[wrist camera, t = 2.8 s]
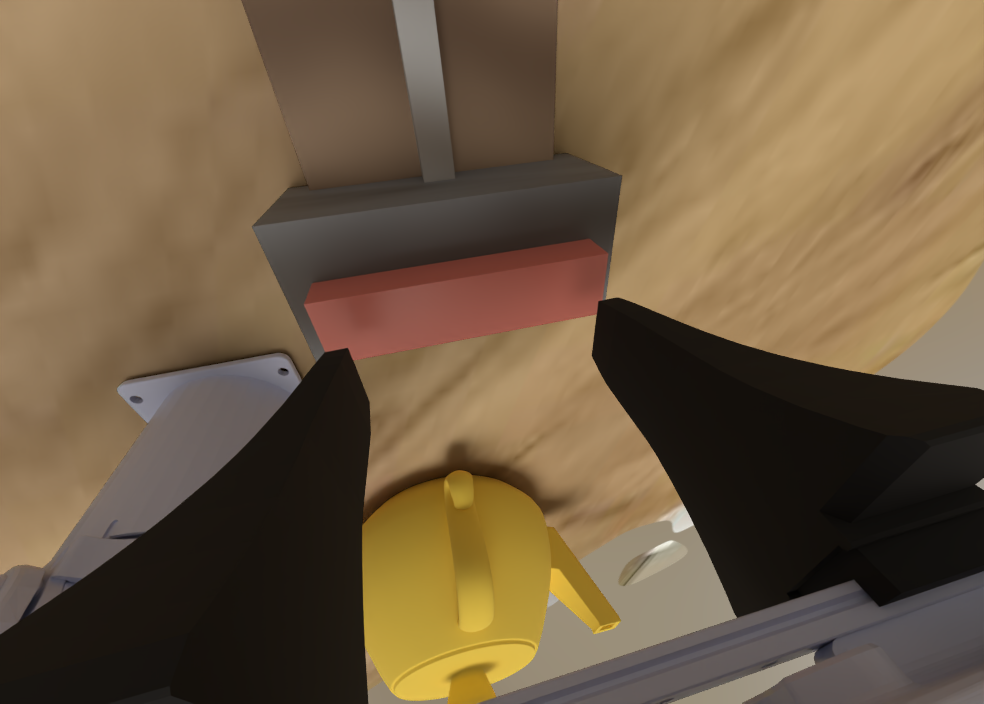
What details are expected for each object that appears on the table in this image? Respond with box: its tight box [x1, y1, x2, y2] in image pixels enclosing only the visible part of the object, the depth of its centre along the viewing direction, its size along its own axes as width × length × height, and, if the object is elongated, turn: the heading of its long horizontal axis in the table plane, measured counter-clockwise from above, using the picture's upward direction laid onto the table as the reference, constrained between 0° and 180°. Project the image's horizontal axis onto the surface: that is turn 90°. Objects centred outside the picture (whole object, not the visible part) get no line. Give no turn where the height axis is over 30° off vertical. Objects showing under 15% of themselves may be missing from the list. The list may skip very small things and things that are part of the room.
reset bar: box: [304, 239, 608, 360], centre depth 13 cm, size 2×10×2 cm, turn 94°
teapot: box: [362, 470, 621, 704], centre depth 27 cm, size 20×19×13 cm
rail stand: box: [242, 0, 622, 362], centre depth 11 cm, size 19×12×5 cm, turn 4°
